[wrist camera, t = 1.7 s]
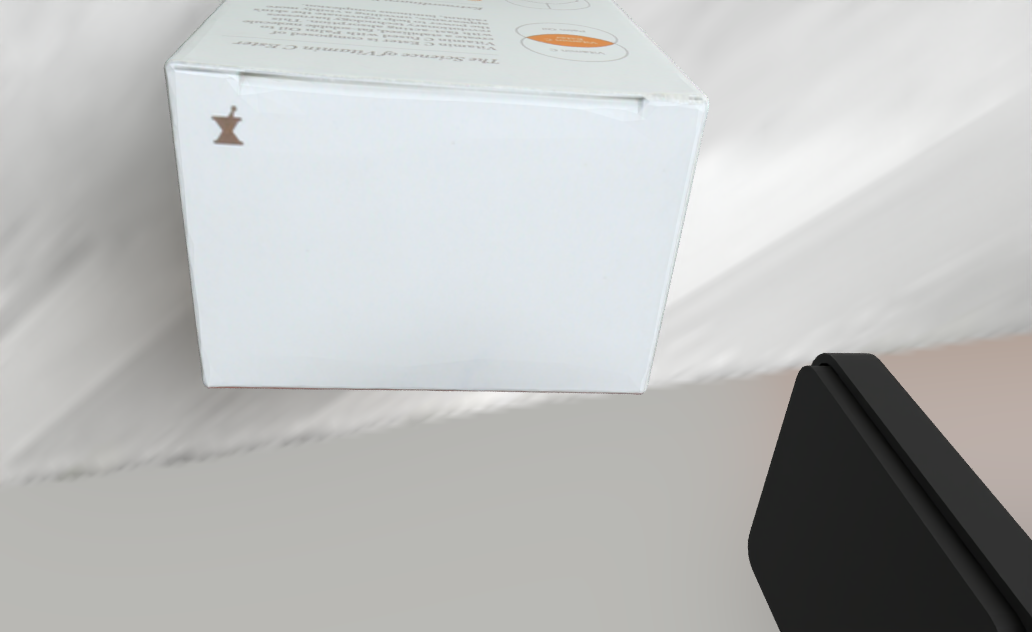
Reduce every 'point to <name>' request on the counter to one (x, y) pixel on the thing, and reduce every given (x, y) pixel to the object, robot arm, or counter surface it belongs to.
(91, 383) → the counter surface
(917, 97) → the counter surface
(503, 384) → the small box
